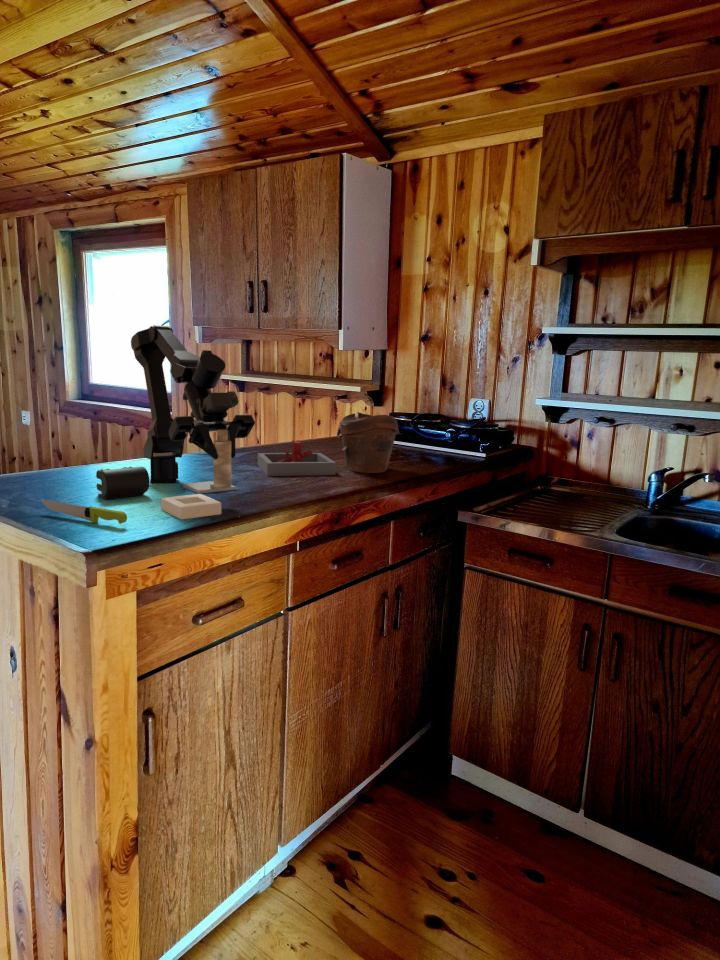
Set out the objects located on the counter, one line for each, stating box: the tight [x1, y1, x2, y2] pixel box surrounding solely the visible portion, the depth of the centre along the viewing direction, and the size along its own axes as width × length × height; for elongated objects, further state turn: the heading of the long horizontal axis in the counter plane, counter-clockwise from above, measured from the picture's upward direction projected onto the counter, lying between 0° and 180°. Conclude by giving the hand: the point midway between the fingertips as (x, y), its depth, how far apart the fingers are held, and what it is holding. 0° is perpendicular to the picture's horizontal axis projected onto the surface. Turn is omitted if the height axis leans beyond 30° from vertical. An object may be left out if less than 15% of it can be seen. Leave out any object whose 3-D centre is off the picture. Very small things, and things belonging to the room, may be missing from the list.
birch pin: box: [213, 429, 232, 488], centre depth 137 cm, size 4×4×12 cm
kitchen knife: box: [40, 498, 128, 525], centre depth 123 cm, size 22×1×3 cm, turn 66°
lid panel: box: [182, 480, 237, 494], centre depth 157 cm, size 9×10×2 cm
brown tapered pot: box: [336, 411, 400, 474], centre depth 193 cm, size 18×20×18 cm
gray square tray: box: [257, 452, 337, 477], centre depth 188 cm, size 20×19×4 cm
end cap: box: [95, 466, 151, 500], centre depth 144 cm, size 10×7×7 cm
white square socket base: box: [160, 493, 222, 520], centre depth 133 cm, size 10×9×2 cm
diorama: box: [278, 439, 314, 462], centre depth 188 cm, size 11×12×8 cm
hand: (225, 457), depth 136 cm, fingers closed on birch pin, 4 cm apart
